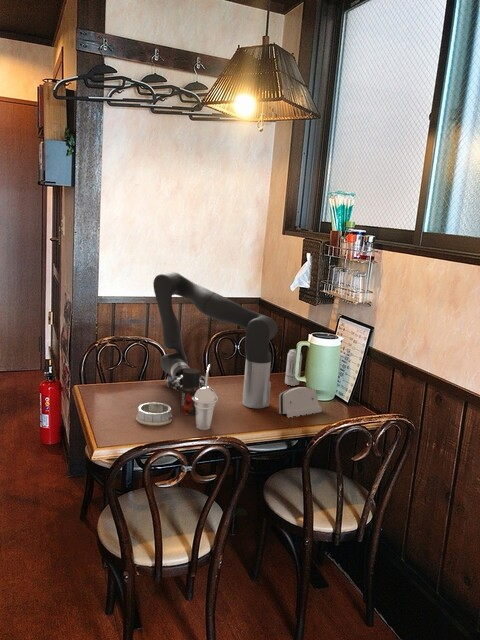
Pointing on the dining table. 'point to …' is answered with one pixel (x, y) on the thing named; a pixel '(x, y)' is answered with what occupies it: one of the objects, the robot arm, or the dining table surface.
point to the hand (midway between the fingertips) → (191, 388)
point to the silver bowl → (154, 414)
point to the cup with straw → (204, 404)
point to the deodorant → (189, 390)
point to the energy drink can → (292, 368)
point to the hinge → (299, 402)
